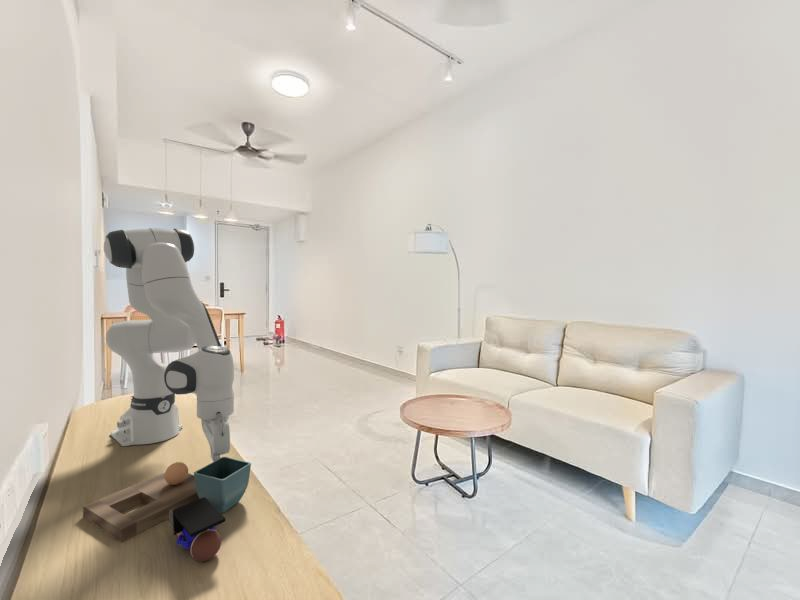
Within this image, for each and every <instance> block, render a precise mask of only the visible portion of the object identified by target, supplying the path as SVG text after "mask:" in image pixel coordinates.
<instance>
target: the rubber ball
mask: <svg viewBox="0 0 800 600" xmlns="http://www.w3.org/2000/svg"><path fill="white" fill-rule="evenodd" d="M164 473H165V475H164V477H165V480H166V482H167V483H169V484H171V485H177V484H180V483H182V482H183V481H184V480H185V479H186V477H187V475H188V473H189V467H188V466H187V464H186V463H184V462H182V461H181V462H180V461H178V462H177V461H176V462H174V463H172V464H170V465H169V466H168V467H166V469H165V472H164Z"/></svg>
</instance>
